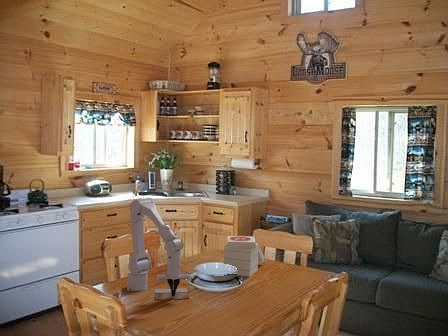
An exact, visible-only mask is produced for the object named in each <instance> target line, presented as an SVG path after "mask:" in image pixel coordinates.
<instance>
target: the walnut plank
mask: <svg viewBox="0 0 448 336" xmlns="http://www.w3.org/2000/svg"><path fill="white" fill-rule="evenodd" d="M154 300H155V301H174V300H175V301H178V300H190V295H189V293H188V292H187V293H175V296H172V293H156V294H155V293H154Z"/></svg>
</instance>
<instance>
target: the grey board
mask: <svg viewBox="0 0 448 336" xmlns="http://www.w3.org/2000/svg"><path fill="white" fill-rule="evenodd" d="M159 293H171V289H170V288H155V289H154V295H155V294H159ZM176 293H188V289H187V288H186V287H185V288H184V287H181V288H180V287H179V288H178V287H177V289H176Z"/></svg>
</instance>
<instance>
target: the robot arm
mask: <svg viewBox="0 0 448 336" xmlns="http://www.w3.org/2000/svg"><path fill="white" fill-rule="evenodd" d="M156 207H157V206H156V203H155V202H154V200H153V199H152V198H151V197H147V198H141V199H134V200H132V201H131V203H129V209H130V210H129V212H130V213H129V219H130V220H129V221H130V231H131V243H132V245H131V246H132V254H131V255H130V256H129V258H128V260H129V261H128V266H127V267H128V272H127V284H126V290H127V292H131V291H132V292H134V291H136V292H140V291H141V292H143V291H146V290H147V289H148V273H149V271H150V269H151V267H152V261H151V259H150V254H149V253H147V252H146V249H145V238H144V237H145V236H144V228H143V227H144V225H143V218H144V217H145V216H147V217H148V218H149V219H150V220H151V221H152V222H153V224H154V225H155V226H156V228H157V234H158V235H159V237H160V238H161V240H162V241H163V242H164V249H165V251H166V256H167V261H166V262H167V263H166V265H167V267H166V269H167V271H166V273H164V274H156V281H165V280H166V281H167V283H168V284H167V285H168V286H169V289H171V293H172V296H175V293H176V289H177V288H178V287H179V285H180V282H181V281H180V280H189V281H190V280H191V274H190V273H181V255H182V254H181V251H182V250H183V248H184V242H183V239H182V238H181V237H179V236H177V235H176V234H175V232H174V231H173V229H172V228H171V226H170V225H168V224H165V223H164V221H163V219H162V217H161V216H160V214H159V212H158V211H157V209H156Z"/></svg>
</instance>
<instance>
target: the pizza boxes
mask: <svg viewBox="0 0 448 336" xmlns="http://www.w3.org/2000/svg"><path fill="white" fill-rule="evenodd" d="M259 244H260V243H257V242H256V237H255V236H252V235H251V236H250V235H249V236H247V235H244V236H243V235H227V244H225V245H224V246H223V265H224V264H229V265H232V266H235V267H236V268H237V270H238V274H240V275H241V277H249V278H250V277H251V276H253V275H254V274H255V273H256V272H257V271H258V270H259V263H264V260H265V256H264V254H263V250H262V248H261V246H260V245H259Z"/></svg>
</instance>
